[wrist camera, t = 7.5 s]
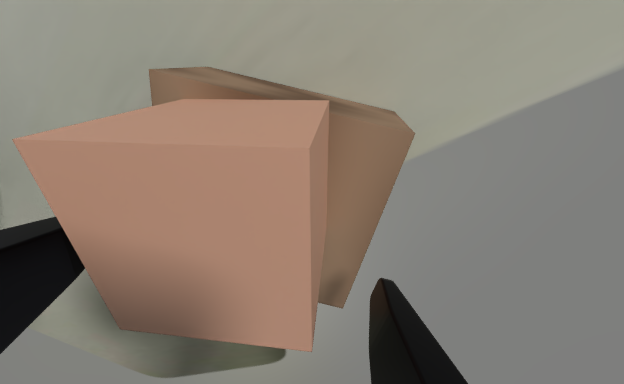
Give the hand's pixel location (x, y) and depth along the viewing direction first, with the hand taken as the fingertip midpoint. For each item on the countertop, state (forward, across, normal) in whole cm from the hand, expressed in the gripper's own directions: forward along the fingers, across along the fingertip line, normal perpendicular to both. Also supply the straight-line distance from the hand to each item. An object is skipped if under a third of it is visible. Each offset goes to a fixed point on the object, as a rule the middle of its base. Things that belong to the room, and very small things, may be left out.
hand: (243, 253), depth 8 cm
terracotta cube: (+2, 0, -2) cm, 3 cm away
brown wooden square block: (+6, 0, 0) cm, 6 cm away
